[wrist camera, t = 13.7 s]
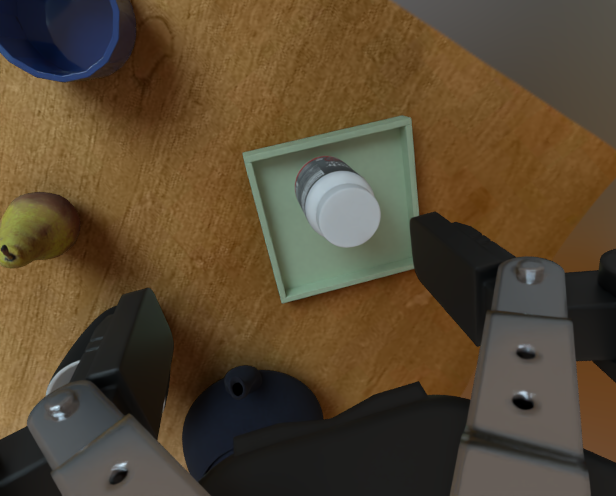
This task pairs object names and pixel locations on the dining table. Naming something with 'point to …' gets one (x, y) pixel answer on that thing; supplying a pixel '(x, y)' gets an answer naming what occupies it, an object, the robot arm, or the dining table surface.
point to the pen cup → (67, 37)
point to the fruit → (37, 229)
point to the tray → (298, 232)
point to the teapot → (241, 413)
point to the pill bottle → (337, 201)
